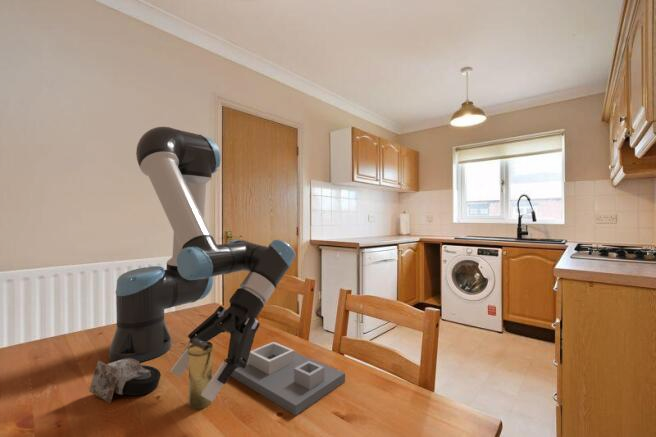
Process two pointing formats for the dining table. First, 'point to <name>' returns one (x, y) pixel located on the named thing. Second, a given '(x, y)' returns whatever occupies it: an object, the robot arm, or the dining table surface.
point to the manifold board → (288, 377)
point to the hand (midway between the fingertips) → (189, 385)
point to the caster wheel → (123, 379)
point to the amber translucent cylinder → (199, 372)
